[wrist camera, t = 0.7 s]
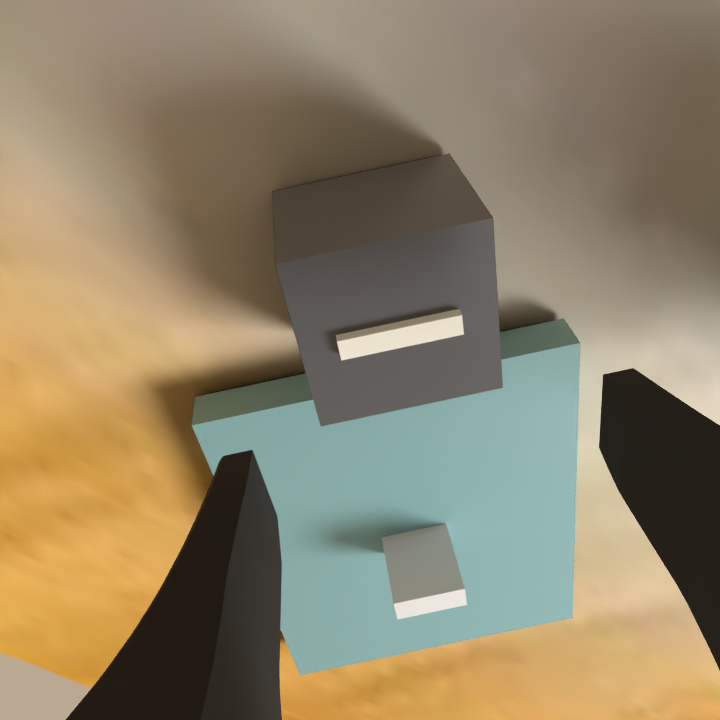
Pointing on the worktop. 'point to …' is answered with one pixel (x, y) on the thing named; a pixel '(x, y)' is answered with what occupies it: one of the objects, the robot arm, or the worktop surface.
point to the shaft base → (417, 505)
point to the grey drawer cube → (390, 287)
